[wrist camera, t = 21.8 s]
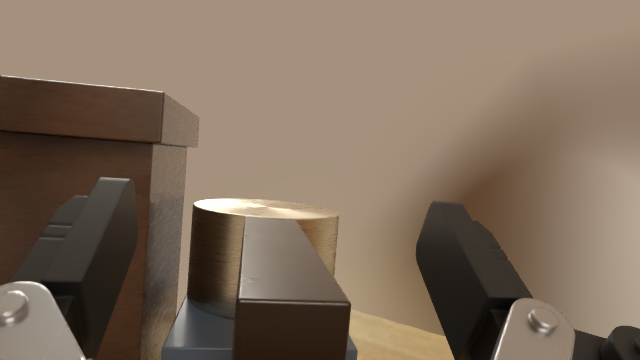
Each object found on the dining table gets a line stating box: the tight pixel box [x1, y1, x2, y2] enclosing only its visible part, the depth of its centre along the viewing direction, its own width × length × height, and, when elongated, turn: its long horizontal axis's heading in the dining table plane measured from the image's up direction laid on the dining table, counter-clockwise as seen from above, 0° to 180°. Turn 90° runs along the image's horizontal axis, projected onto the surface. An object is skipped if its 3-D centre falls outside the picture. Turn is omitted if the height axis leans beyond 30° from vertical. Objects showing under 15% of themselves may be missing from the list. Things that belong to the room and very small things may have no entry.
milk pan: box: [187, 199, 351, 360], centre depth 19 cm, size 8×20×5 cm, turn 9°
